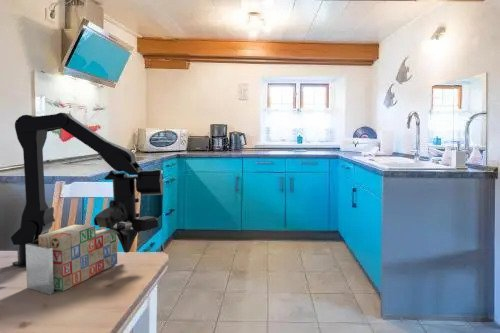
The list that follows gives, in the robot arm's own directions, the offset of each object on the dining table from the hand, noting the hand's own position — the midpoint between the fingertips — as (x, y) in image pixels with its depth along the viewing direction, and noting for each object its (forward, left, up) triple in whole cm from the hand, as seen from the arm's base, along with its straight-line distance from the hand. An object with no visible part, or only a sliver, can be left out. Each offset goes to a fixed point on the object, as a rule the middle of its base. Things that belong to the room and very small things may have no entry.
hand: (126, 252), depth 117 cm
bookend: (0, -26, -3) cm, 26 cm away
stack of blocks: (-1, -14, -3) cm, 14 cm away
